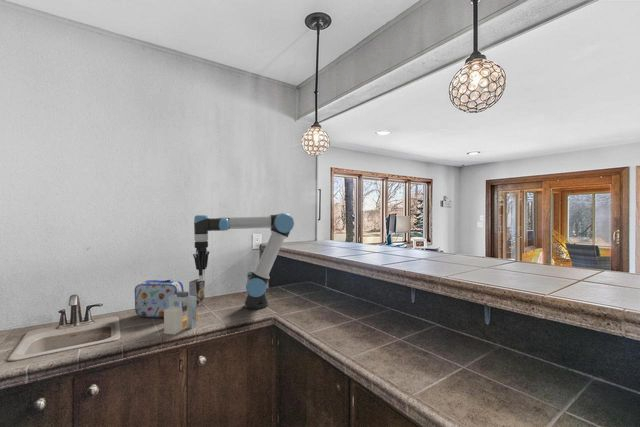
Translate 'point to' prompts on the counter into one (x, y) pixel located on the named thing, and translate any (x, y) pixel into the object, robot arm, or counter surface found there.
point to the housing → (191, 306)
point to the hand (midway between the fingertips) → (201, 280)
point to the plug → (174, 320)
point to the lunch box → (155, 297)
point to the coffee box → (197, 291)
